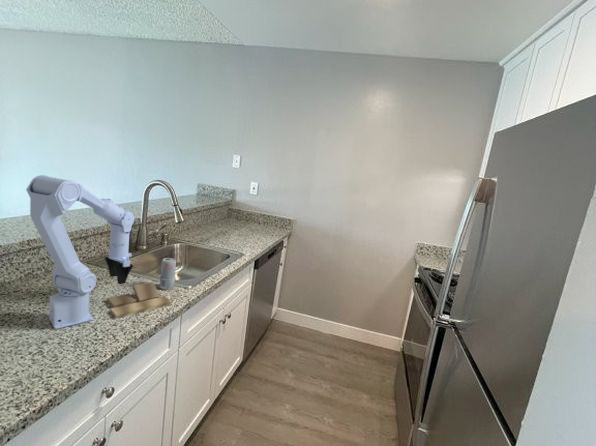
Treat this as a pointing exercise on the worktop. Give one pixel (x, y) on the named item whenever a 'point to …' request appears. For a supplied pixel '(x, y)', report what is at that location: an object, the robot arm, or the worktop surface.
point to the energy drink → (168, 273)
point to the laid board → (139, 307)
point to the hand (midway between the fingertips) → (117, 279)
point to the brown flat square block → (121, 300)
